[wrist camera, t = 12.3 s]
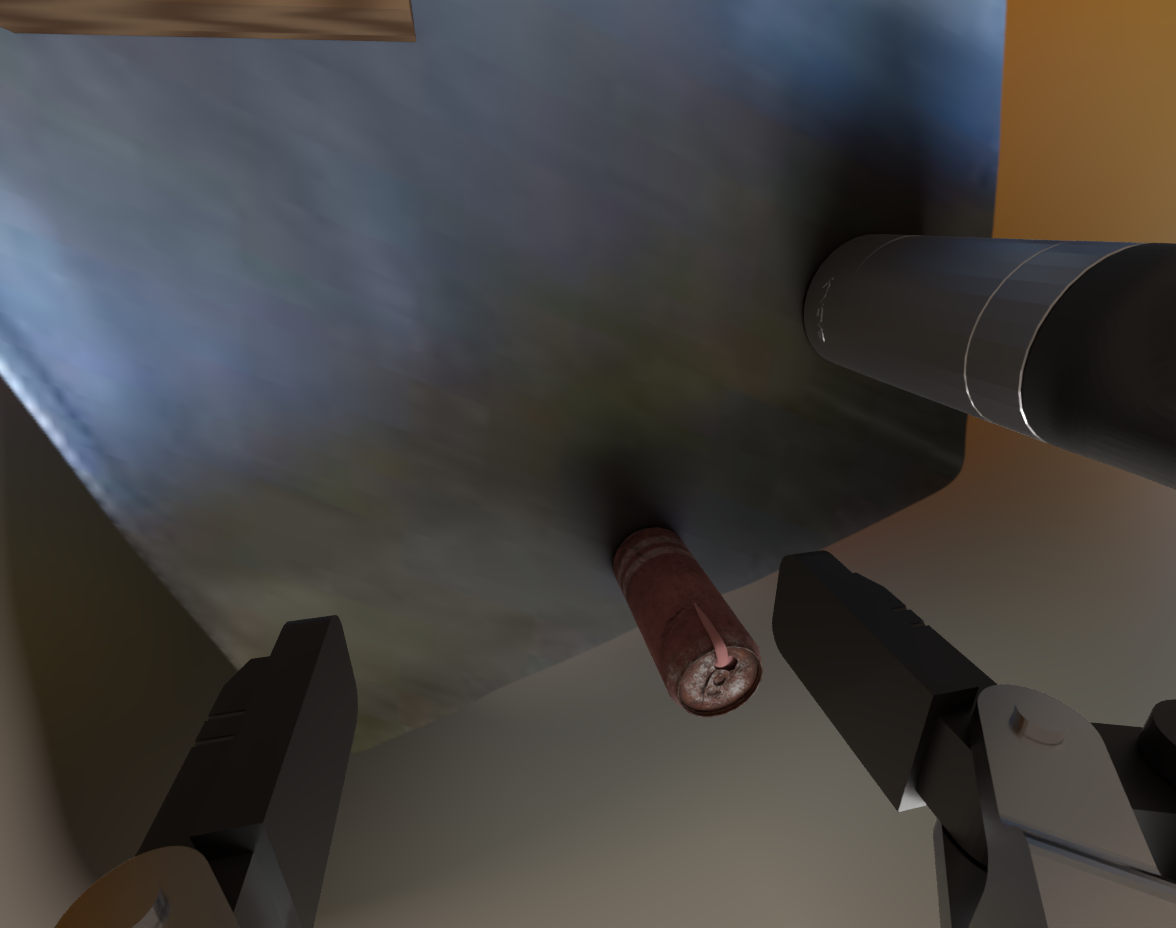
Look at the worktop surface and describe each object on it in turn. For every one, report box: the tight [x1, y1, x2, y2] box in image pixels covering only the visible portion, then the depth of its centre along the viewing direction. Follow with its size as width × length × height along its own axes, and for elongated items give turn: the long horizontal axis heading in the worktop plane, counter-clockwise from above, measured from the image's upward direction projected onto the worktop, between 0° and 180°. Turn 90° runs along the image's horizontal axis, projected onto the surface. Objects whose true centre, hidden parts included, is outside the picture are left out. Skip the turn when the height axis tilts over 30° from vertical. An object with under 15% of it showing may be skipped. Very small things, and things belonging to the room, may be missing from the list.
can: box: [613, 527, 763, 717], centre depth 39 cm, size 6×6×14 cm
